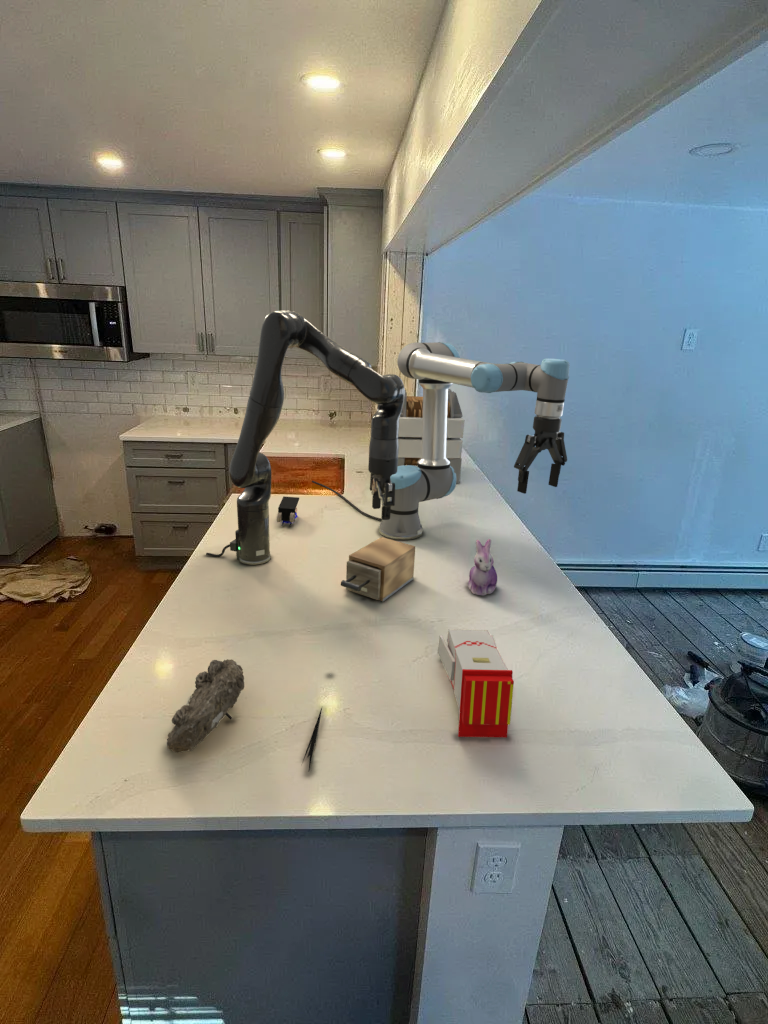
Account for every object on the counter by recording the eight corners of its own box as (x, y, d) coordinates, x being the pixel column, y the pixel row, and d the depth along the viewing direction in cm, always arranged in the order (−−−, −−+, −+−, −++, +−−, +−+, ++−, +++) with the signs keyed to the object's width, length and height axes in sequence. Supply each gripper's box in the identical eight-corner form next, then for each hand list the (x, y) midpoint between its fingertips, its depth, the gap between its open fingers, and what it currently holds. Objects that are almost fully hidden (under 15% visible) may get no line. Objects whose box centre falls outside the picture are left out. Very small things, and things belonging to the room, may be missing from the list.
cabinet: (383, 601, 154) (384, 566, 150) (348, 589, 159) (348, 555, 156) (413, 578, 167) (415, 546, 164) (380, 568, 173) (381, 536, 169)
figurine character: (295, 532, 200) (300, 513, 214) (294, 513, 197) (299, 495, 210) (276, 531, 200) (282, 512, 213) (275, 512, 197) (281, 494, 210)
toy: (488, 613, 130) (523, 677, 101) (484, 667, 133) (517, 744, 104) (435, 612, 130) (455, 676, 101) (432, 666, 133) (451, 743, 103)
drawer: (365, 609, 147) (366, 580, 144) (332, 597, 152) (333, 569, 149) (406, 579, 164) (408, 552, 162) (376, 569, 170) (377, 543, 167)
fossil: (192, 660, 117) (244, 628, 112) (224, 691, 120) (276, 661, 115) (142, 746, 98) (202, 712, 93) (182, 779, 101) (242, 748, 96)
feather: (331, 679, 122) (336, 673, 122) (307, 777, 96) (313, 769, 95) (324, 675, 122) (329, 669, 121) (298, 772, 95) (304, 764, 95)
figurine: (479, 599, 156) (485, 549, 151) (458, 584, 165) (463, 536, 160) (506, 593, 161) (512, 544, 155) (484, 578, 169) (490, 531, 164)
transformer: (382, 463, 289) (386, 382, 275) (445, 464, 293) (451, 384, 279) (390, 482, 257) (394, 392, 243) (460, 483, 261) (468, 394, 247)
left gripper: (362, 448, 150) (360, 505, 156) (377, 462, 138) (374, 524, 143) (388, 447, 153) (386, 504, 158) (406, 461, 140) (402, 522, 145)
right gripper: (528, 422, 148) (517, 499, 156) (587, 415, 162) (575, 486, 169) (507, 417, 154) (498, 491, 161) (565, 411, 168) (555, 479, 175)
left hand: (380, 513), depth 151 cm, fingers open, 8 cm apart
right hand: (537, 489), depth 165 cm, fingers open, 13 cm apart
